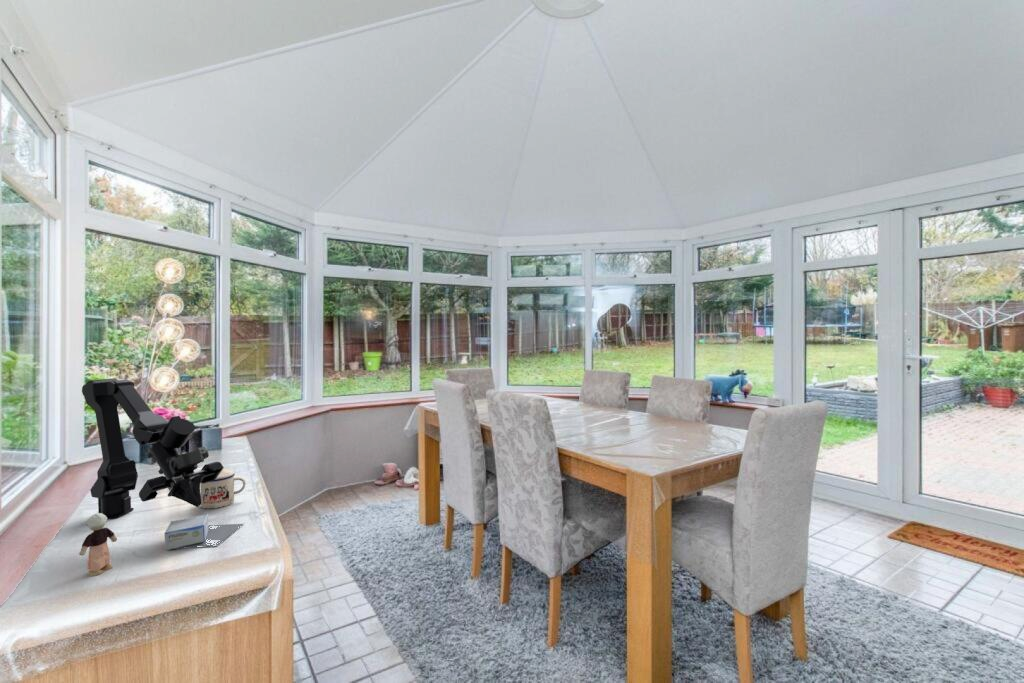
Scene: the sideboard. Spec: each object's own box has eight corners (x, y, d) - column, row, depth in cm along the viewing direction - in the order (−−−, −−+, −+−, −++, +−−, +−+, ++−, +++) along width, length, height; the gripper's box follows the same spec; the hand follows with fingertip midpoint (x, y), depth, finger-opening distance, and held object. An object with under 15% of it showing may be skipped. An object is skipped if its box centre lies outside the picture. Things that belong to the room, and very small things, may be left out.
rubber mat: (178, 548, 111) (178, 547, 111) (208, 526, 124) (208, 525, 124) (217, 546, 112) (217, 545, 112) (243, 524, 125) (243, 523, 125)
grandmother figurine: (102, 563, 104) (101, 507, 104) (120, 562, 104) (119, 507, 104) (73, 581, 96) (71, 521, 96) (92, 580, 97) (91, 520, 97)
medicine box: (172, 537, 117) (165, 551, 109) (171, 520, 117) (163, 532, 109) (209, 529, 121) (204, 542, 113) (208, 513, 121) (203, 524, 113)
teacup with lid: (197, 511, 135) (196, 471, 135) (202, 501, 143) (201, 464, 143) (244, 504, 140) (244, 466, 140) (247, 495, 148) (246, 459, 148)
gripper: (144, 447, 113) (175, 498, 109) (218, 432, 130) (247, 475, 126) (126, 476, 116) (154, 526, 112) (200, 458, 133) (227, 500, 129)
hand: (199, 505), depth 120 cm, fingers closed
